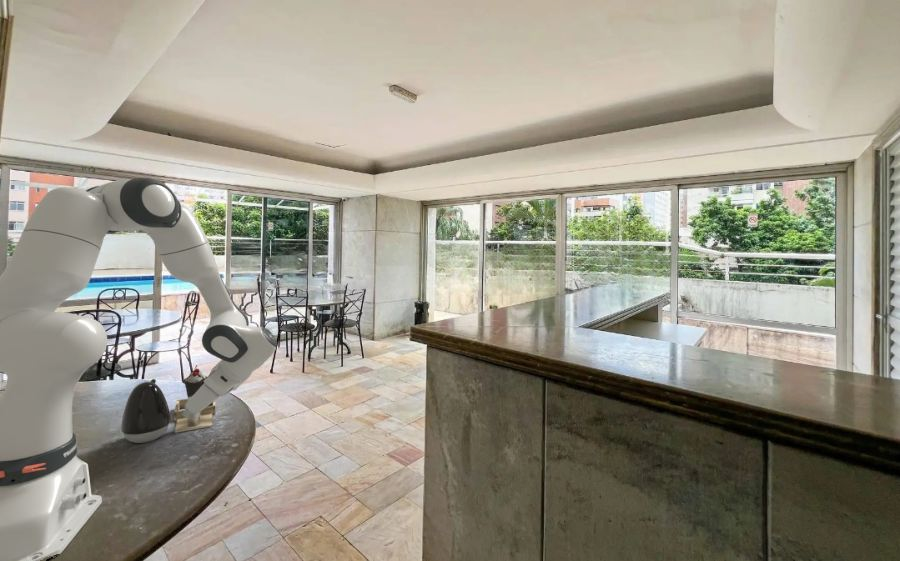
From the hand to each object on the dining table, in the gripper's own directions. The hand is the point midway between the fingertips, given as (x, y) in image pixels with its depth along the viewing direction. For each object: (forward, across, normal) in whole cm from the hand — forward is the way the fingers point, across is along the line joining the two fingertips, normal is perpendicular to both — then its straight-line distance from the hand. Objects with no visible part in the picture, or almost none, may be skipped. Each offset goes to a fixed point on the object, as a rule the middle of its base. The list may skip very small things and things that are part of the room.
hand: (191, 409), depth 109 cm
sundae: (+6, -11, +1) cm, 12 cm away
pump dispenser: (+9, +6, -2) cm, 11 cm away
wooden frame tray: (+5, -6, +2) cm, 8 cm away
